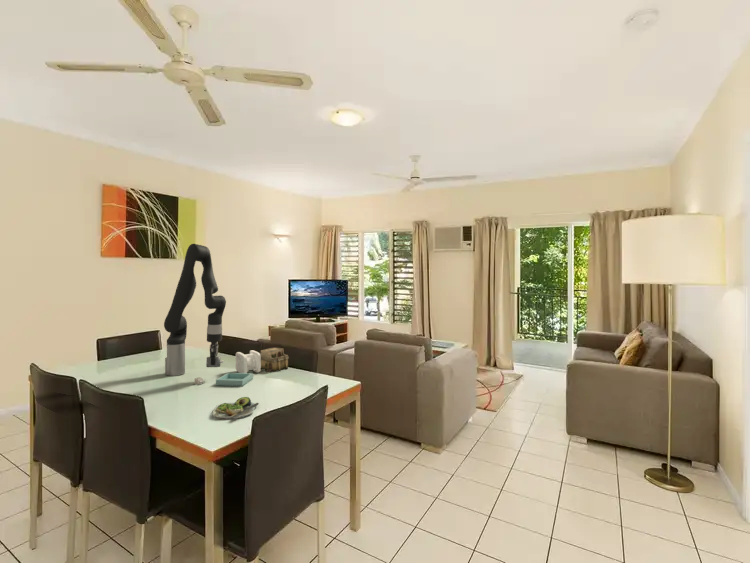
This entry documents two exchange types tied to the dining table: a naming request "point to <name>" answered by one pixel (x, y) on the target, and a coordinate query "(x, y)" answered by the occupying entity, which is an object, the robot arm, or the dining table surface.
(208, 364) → the connector
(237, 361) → the cable organizer
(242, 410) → the salad plate
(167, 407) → the dining table surface
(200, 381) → the small plug
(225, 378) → the tray
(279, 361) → the miniature house
